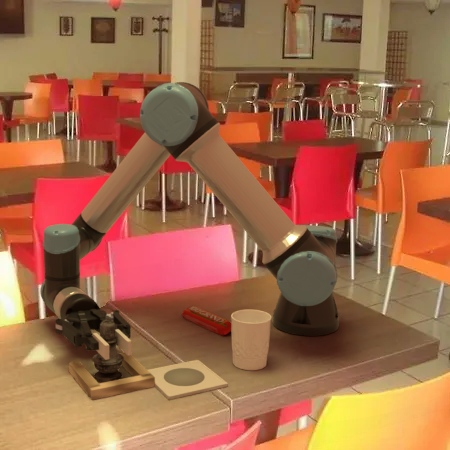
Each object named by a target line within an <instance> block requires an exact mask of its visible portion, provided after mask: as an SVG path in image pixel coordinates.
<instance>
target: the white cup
mask: <svg viewBox="0 0 450 450" xmlns="http://www.w3.org/2000/svg"><path fill="white" fill-rule="evenodd" d="M272 319H273V316H272V315H271V314H270V313H269V312H266V311H264V310H261V309H251V308H250V309H249V308H248V309H239V310H237V311H236V310H235V311H234V312H232V313H231V315H230V322H231V331H230V332H231V334H230V335H231V350H232V364H233V365H234V367H235V368H238V369H241V370H244V371H245V370H246V371H257V370H262V369H263V368H265V367H267V363H268V362H267V361H268V353H269V348H270V339H271V338H270V337H271V329H272Z"/></svg>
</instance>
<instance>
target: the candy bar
mask: <svg viewBox="0 0 450 450" xmlns="http://www.w3.org/2000/svg"><path fill="white" fill-rule="evenodd" d="M181 315H182V316H183V318H184V319H185V320H186V321H189V322H191V323H193V324H196V325H197V326H200V327H202V328H204V329H207V331H208V330H209V331H211V332H213V333H215V334H217V335H220V336H225V335H227V334H229V333H230V332H231V321H229V320H228V319H225V318H224V317H221V316H218V315H216V314H214V313H211V312H210V311H206V310H205V309H202V308H201V307H198V306H195V305H191V306H189V307H187V308H186V309H184V310H183V311H182V313H181Z"/></svg>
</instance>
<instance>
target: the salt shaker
mask: <svg viewBox="0 0 450 450" xmlns="http://www.w3.org/2000/svg"><path fill="white" fill-rule="evenodd" d="M99 335H100V336H101V337H102V338H103V339H104V340H105V341H106V342H107V343H108V344H109V359H107V360H105V359H104V358H103V357H102V356H101V355H100V354H99V353H97V354H95V355H93V357H91V358H92V359H91V361H92V362H93V366H94V367H95V369H96V370H97V371H96V372H95V373H94V375H93V378H94V379H95V380H96V381H97V382H98V381H99V382H101V383H105V382H110V381H114V380H119V379H122V378H123V373H122V372H121V370H120V369H121V367H122V361H123V359H124V357H123V355H121V354H119V352H118V351H117V345H116V341H117V340H118V338H117V337H116V333H115V323H114V321H112V320H110V319H109V316H107V317H106V320H104V321H102V322H101V323H100V333H99Z"/></svg>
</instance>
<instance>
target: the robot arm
mask: <svg viewBox="0 0 450 450" xmlns="http://www.w3.org/2000/svg"><path fill="white" fill-rule="evenodd" d="M139 110H140V111H139V119H140V125H141V128H142V129H143V131H144V133H143V134H142V135H141V136H140V138H139V139H138V140H137V142H136V143H135V144H134V145H133V147H132V148H131V149H130V150H129V151H128V152H127V154H126V156H124V158H122V161H121V162H120V163H119V165H117V167H116V168H115V169H114V171H113V172H112V173H111V174H110V175H109V177H108V178H107V179H106V181H105V182H104V183H103V185H102V186H101V187H100V188H99V189H98V190H97V192H96V193H95V194H94V196H93V197H92V198H91V199H90V201H89V202H88V203H87V205H86V206H85V207H84V209H83V210H82V211H81V213H79V215H77V217H76V218H75V220H74V221H73V222H72V223H71V224H68V223H58V224H57V223H55V224H52V225H49V226H48V225H47V227H45V229H44V230H43V242H42V247H43V262H44V280H43V282H42V284H41V286H40V290H39V292H40V297H41V299H42V301H43V302H44V305H45V306H46V307H47V308H48V309H49V310H51V312H52V313H53V314H54V315H56V317H57V318H56V319H55V332H56V333H58V334H60V335H62V336H64V338H66V340H68V341H69V342H70V343H71V344H72V345H73V346H74V347H76V348H80V347H83V345H84V346H85V350H86V351H96V352H97V354H100V355H101V356H102V357H103V358H104V359H105V360H107V359H109V344H108V343H107V342H106V341H105V340H104V339H103V338H102V337H101V336H100V323H101V322H102V321H104V320H106V317H107V316H109V319H110V320H112V321H114V323H115V333H116V337H117V338H118V340H117V341H116V347H118V348H119V349H121V351H122V352H123V353H126V354H127V355H132V354H133V353H132V351H133V350H132V349H133V347H132V346H133V345H132V343H133V341H132V339H131V331H132V330H131V324H130V323H128V321H127V320H126V319H125V318H124V317H123V316H122V315H121V314H120V310H119V309H114V310H113V312H112V311H111V312H110V313H107V312H106V310H102V309H101V308H100V306H99V304H98V303H97V302H96V300H94V299H93V298H91V296H90V295H88V294H87V293H86V292H85V291H84V290H82V289H81V260H83V258H85V257H86V256H87V255H89V254H90V253H91V252H94V250H96V249H97V248H98V247H99V246H100V244H101V243H102V240H103V239H104V237H105V236H106V234H108V232H109V231H110V230H111V228H112V227H113V225H114V224H115V223H117V221H118V219H120V217H121V216H122V215H123V213H125V211H126V210H127V208H128V207H129V206H130V205H131V204H132V202H133V201H134V200H135V199H136V198H137V196H138V195H139V194H140V193H141V191H142V190H143V189H144V187H146V186H147V184H148V183H149V182H150V180H152V178H153V177H154V176H155V175H156V173H157V172H158V171H159V170H160V169H161V168H162V166H163V165H164V163H165V162H166V161H167V159H168V158H170V156H171V157H172V158H173V159H174V160H175V161H176V162H184V163H187V164H188V165H189V167H190V168H192V170H193V171H194V172H195V173H196V175H197V176H198V177H199V178H200V179H201V180H202V182H204V184H205V185H206V186H207V187H208V189H209V190H210V191H211V192H212V193H213V195H214V196H215V197H216V198H217V200H219V202H220V203H221V204H222V205H223V206H224V208H225V209H226V210H227V211H228V212H229V213H230V215H232V217H233V218H234V220H235V221H237V223H238V224H239V226H240V227H241V228H242V229H243V230H244V232H245V233H246V234H247V235H248V236H249V237H250V238H251V239H252V240H253V242H254V243H255V244H256V245H257V247H258V248H259V249H260V250H261V251H262V259H261V260H262V262H261V263H263V265H264V266H265V268H266V269H267V270H268V271H269V272H270V274H272V276H273V277H274V278H275V279H276V283H277V284H276V285H277V287H278V290H279V291H280V293H279V297H278V299H277V301H276V305H275V308H274V310H273V313H272V325H273V326H274V327H276V328H277V329H278V330H280V331H283V332H284V333H288V334H293V335H297V336H306V337H308V336H311V337H313V336H314V337H315V336H317V337H318V336H325V335H329V334H332V333H334V332H336V331H337V330H339V326H340V315H339V311H338V307H337V304H336V300H335V296H334V289H335V286H336V284H337V280H338V271H337V263H336V262H337V261H336V255H337V253H336V252H337V243H338V238H337V231H336V229H334V228H333V227H330V226H323V225H314V224H313V225H308V224H295V223H294V222H293V221H292V220H291V218H290V216H288V214H287V213H286V212H285V211H284V210H283V209H282V208H281V206H280V205H279V204H278V203H277V202H276V200H274V198H273V197H272V196H271V194H270V193H268V191H267V190H266V188H265V187H264V186H263V185H262V184H261V183H260V182H259V180H258V179H257V178H256V176H255V175H254V174H253V173H252V172H251V171H250V170H249V169H248V167H247V166H246V164H244V163H243V161H242V160H241V159H240V157H239V156H238V155H237V154H236V153H235V152H234V150H233V149H232V147H230V145H228V143H227V142H226V141H225V140H224V138H223V137H222V136H221V135H220V131H221V130H220V129H221V128H220V127H221V126H220V125H221V123H220V122H219V120H217V119H216V117H215V115H213V114H212V112H211V111H210V107H209V102H208V99H207V97H206V94H205V93H204V92H203V91H202V90H201V89H200V88H199V87H197V86H196V85H195V84H192V83H188V82H185V81H179V82H168V83H167V82H165V83H163V84H160V85H158V86H156V87H155V88H153V89H152V90H151V91H150V92H148V93H147V95H146V96H145V97H144V99H143V100H142V103H141V107H140V109H139ZM92 331H96V332H92ZM132 356H133V355H132Z"/></svg>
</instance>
